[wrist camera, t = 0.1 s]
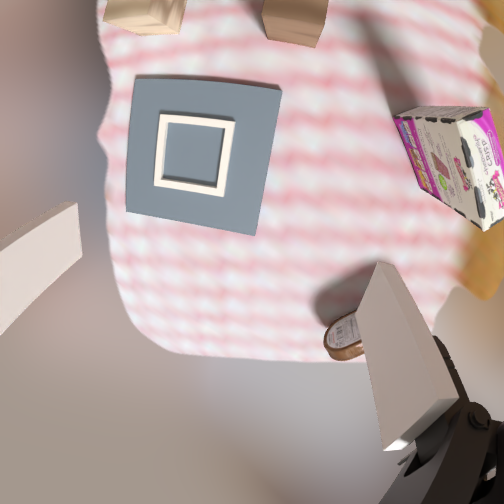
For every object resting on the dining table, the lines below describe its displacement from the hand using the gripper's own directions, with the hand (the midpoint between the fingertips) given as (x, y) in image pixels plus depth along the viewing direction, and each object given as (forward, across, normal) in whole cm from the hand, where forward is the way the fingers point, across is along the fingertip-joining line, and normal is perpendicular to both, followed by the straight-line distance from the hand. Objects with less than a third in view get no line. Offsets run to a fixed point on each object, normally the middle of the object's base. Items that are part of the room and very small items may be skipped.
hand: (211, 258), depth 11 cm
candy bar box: (+28, +21, +7) cm, 36 cm away
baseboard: (+28, -9, -1) cm, 29 cm away
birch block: (+28, -17, +19) cm, 38 cm away
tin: (+28, +21, -21) cm, 41 cm away
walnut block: (+28, +1, +19) cm, 34 cm away
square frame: (+27, -9, -1) cm, 28 cm away
